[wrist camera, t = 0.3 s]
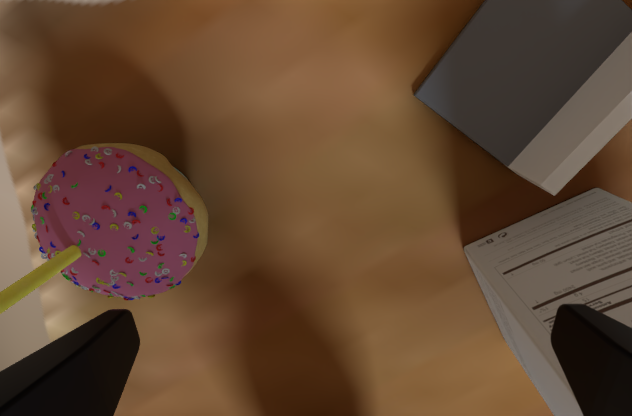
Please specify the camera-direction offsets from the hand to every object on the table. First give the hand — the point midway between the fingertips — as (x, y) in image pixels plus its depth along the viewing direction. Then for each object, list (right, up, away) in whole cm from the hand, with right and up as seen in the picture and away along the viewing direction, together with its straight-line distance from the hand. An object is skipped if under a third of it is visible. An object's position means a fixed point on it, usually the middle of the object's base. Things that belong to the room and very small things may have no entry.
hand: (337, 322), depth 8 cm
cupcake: (-10, +3, +16) cm, 19 cm away
